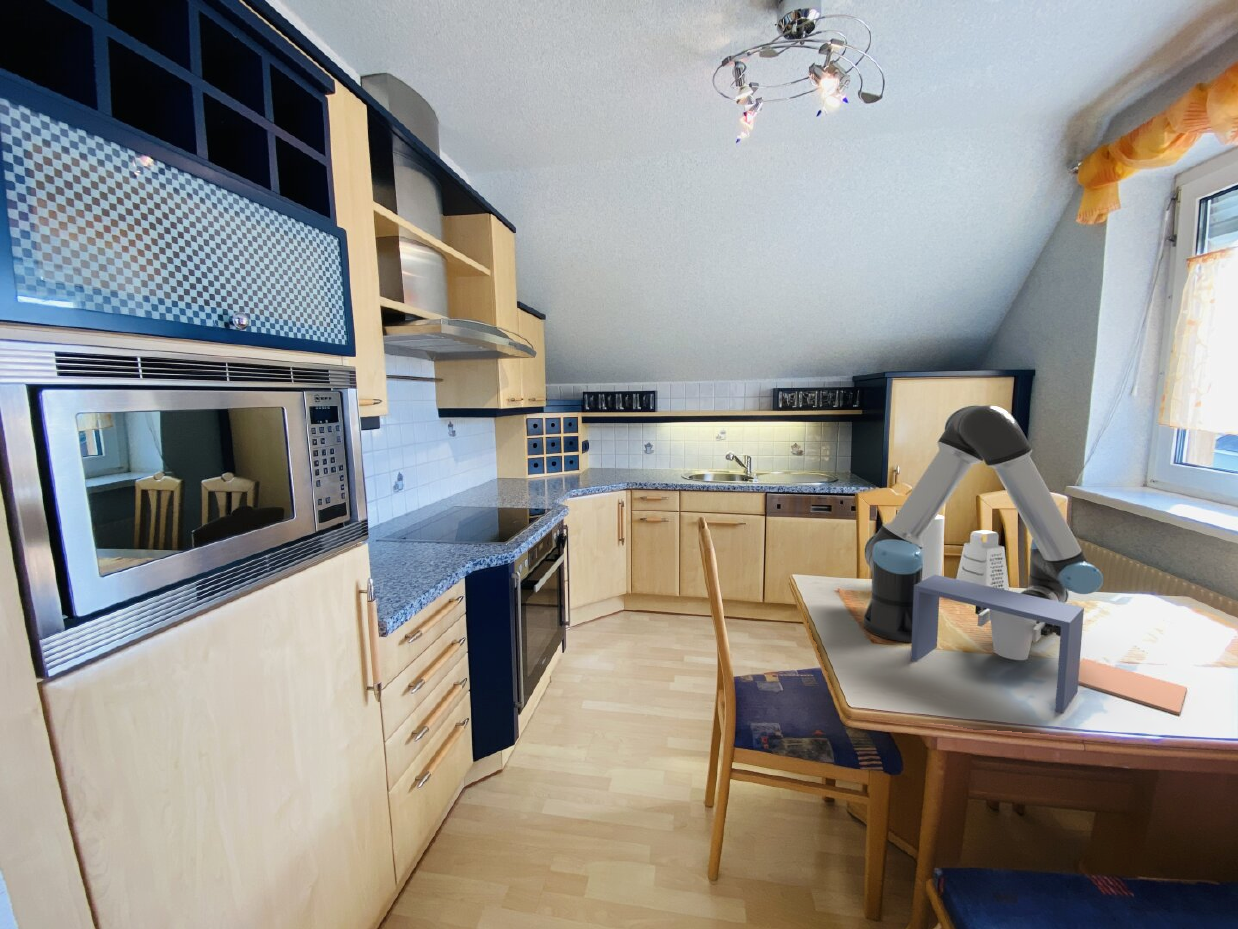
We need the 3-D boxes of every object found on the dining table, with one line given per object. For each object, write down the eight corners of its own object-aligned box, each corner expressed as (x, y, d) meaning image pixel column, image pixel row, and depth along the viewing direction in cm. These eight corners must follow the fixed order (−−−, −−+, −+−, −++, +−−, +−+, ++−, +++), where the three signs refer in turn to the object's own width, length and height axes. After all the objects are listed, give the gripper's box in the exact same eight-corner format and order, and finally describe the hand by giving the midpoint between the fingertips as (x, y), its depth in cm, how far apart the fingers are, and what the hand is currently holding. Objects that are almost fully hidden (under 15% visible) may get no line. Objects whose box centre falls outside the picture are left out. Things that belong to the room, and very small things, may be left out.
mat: (1068, 680, 107) (1068, 678, 107) (1082, 660, 116) (1083, 658, 116) (1179, 715, 94) (1179, 712, 94) (1186, 689, 103) (1186, 687, 103)
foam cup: (1020, 666, 110) (1023, 610, 109) (976, 649, 119) (979, 596, 118) (1045, 658, 114) (1049, 603, 113) (1001, 641, 122) (1004, 590, 121)
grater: (1010, 596, 156) (1013, 534, 155) (985, 600, 153) (989, 537, 151) (977, 585, 166) (980, 527, 164) (953, 589, 163) (956, 529, 161)
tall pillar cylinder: (901, 583, 170) (904, 511, 168) (938, 587, 165) (941, 513, 163) (904, 593, 160) (907, 517, 158) (943, 597, 156) (947, 519, 153)
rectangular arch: (910, 659, 117) (913, 585, 116) (931, 645, 125) (934, 574, 123) (1063, 713, 96) (1069, 622, 94) (1077, 691, 103) (1083, 607, 101)
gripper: (1093, 633, 118) (1069, 662, 105) (983, 605, 136) (950, 627, 122) (1095, 602, 117) (1071, 628, 104) (984, 579, 135) (951, 598, 122)
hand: (1006, 627), depth 113 cm, fingers closed on foam cup, 9 cm apart
